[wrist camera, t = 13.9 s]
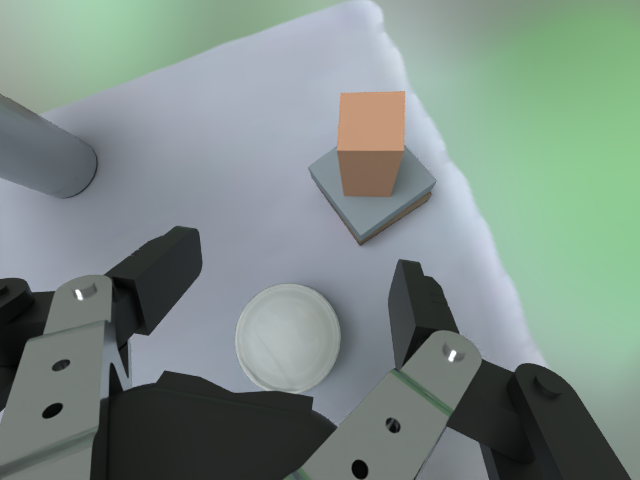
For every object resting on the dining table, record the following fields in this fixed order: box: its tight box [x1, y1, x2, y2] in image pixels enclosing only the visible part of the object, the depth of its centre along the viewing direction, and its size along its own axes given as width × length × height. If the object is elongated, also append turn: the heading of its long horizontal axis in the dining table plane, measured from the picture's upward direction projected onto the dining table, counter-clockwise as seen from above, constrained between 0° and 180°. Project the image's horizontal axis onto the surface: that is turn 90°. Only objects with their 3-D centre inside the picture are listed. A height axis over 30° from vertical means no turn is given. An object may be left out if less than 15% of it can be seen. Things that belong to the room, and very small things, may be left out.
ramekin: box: [235, 283, 341, 394], centre depth 33 cm, size 11×11×5 cm
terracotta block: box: [337, 91, 405, 197], centre depth 27 cm, size 5×5×10 cm
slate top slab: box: [308, 145, 437, 241], centre depth 34 cm, size 10×10×3 cm
